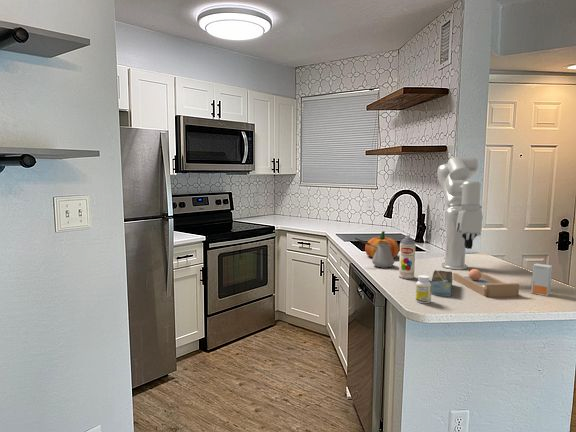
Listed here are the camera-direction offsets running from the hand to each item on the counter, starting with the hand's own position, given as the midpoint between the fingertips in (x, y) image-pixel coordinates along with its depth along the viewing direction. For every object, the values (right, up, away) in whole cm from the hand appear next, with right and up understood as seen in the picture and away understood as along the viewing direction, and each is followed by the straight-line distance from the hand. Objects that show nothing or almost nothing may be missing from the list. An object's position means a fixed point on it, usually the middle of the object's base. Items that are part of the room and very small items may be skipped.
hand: (468, 248), depth 188 cm
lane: (+1, -16, -12) cm, 20 cm away
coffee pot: (-38, -12, +26) cm, 48 cm away
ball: (+1, -11, -5) cm, 13 cm away
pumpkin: (-28, -9, +49) cm, 58 cm away
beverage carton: (-18, -17, -16) cm, 29 cm away
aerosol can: (-27, -14, +3) cm, 31 cm away
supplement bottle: (-31, -18, -32) cm, 48 cm away
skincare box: (+20, -17, -21) cm, 34 cm away
